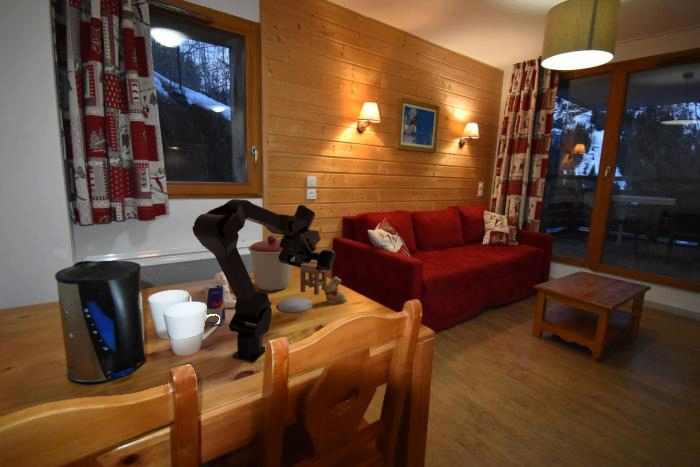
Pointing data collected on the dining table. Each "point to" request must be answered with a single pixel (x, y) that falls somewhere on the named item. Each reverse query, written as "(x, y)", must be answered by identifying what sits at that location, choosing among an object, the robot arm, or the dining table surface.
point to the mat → (295, 305)
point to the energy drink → (215, 302)
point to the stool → (312, 270)
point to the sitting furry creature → (226, 290)
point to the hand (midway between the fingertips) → (315, 269)
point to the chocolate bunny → (334, 292)
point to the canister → (269, 265)
